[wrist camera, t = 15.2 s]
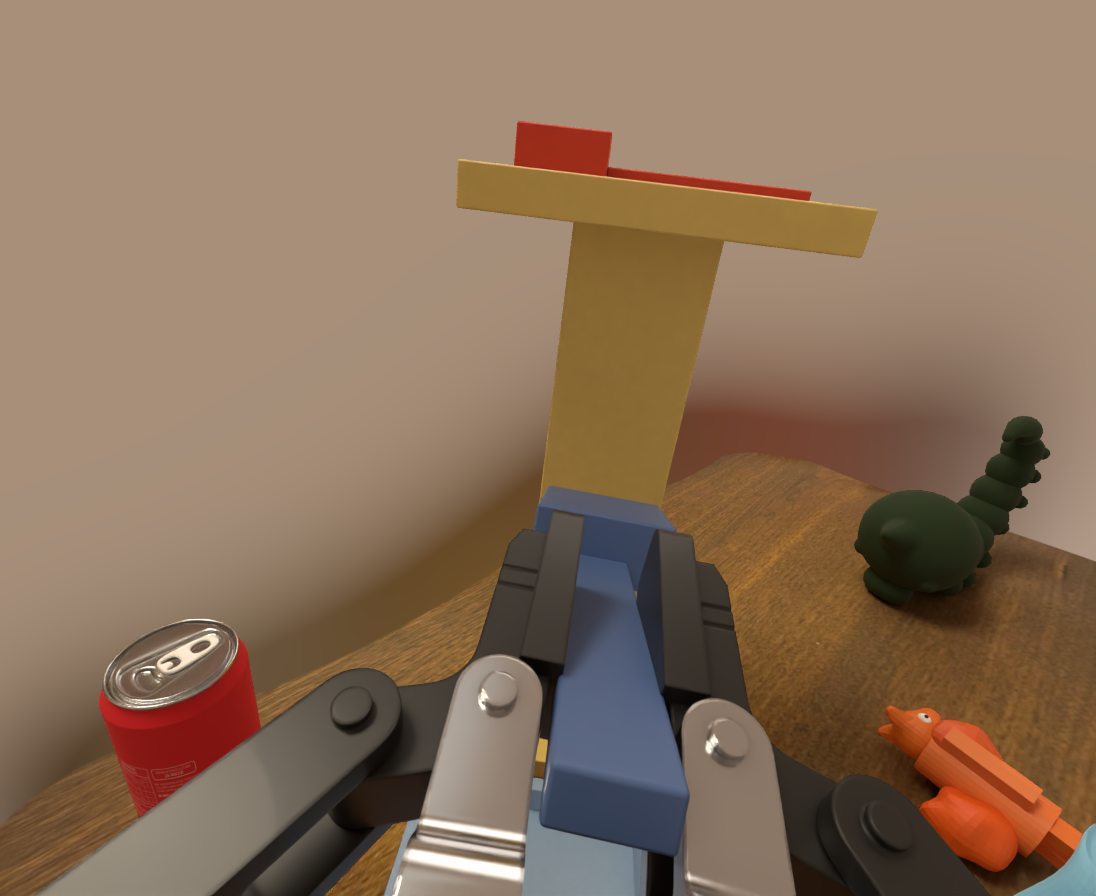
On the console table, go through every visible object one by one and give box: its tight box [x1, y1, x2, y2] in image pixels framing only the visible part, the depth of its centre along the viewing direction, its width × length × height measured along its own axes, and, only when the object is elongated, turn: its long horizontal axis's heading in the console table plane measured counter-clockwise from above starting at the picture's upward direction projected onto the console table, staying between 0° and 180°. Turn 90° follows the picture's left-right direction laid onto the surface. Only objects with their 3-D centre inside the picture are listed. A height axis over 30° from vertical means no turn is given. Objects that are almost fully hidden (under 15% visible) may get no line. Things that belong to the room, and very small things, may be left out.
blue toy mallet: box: [533, 486, 690, 857], centre depth 12 cm, size 4×13×2 cm, turn 172°
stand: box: [456, 159, 877, 778], centre depth 28 cm, size 14×10×32 cm
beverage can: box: [99, 619, 261, 818], centre depth 24 cm, size 5×5×12 cm
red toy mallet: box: [514, 121, 811, 201], centre depth 23 cm, size 4×13×2 cm, turn 84°
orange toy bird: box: [878, 706, 1083, 872], centre depth 30 cm, size 5×8×12 cm
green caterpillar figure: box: [854, 416, 1050, 604], centre depth 50 cm, size 9×19×25 cm
